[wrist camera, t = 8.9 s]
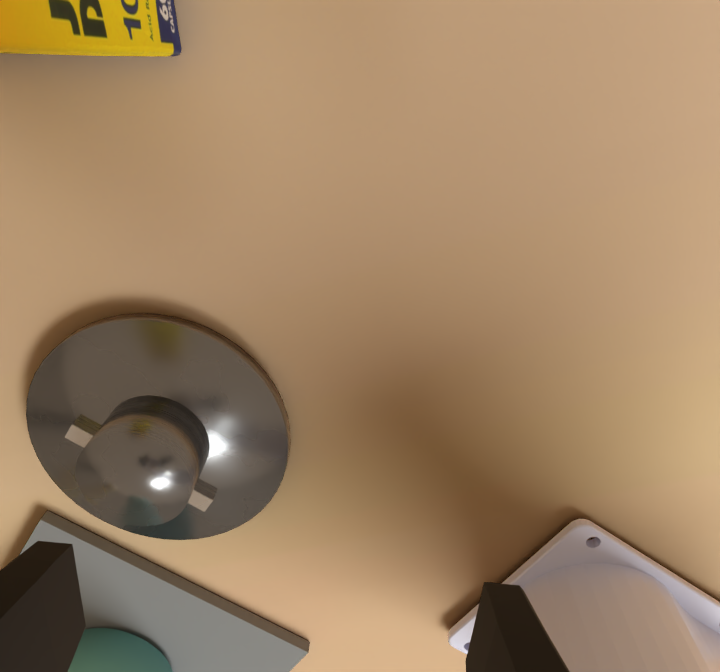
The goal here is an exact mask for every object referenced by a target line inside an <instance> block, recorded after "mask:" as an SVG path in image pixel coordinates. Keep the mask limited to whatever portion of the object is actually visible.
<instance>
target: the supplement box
mask: <svg viewBox="0 0 720 672" xmlns="http://www.w3.org/2000/svg"><path fill="white" fill-rule="evenodd" d="M0 53H16V54H55V55H89V56H177V55H179V54H180V53H181V43H180V37H179V32H178V26H177V19H176V12H175V6H174V0H0Z"/></svg>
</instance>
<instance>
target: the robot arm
mask: <svg viewBox="0 0 720 672" xmlns="http://www.w3.org/2000/svg"><path fill="white" fill-rule="evenodd" d="M591 537H595V538H594V539H592V540H587V539H589V538H591ZM85 627H86V624H85V618H84V611H83V605H82V599H81V593H80V587H79V581H78V575H77V569H76V563H75V557H74V551H73V545H72V544H68V543H57V542H46V541H37V542H36V543H34V544H33V545H32V546H31V547H29V548H28V549H27V550H25V551H24V552H23V553H22V554H20V555H19V556H18V557H17V558H15V559H14V560H13V561H12V562H10V563H9V564H8V565H7V566H5V567H4V568H3V569H2V570H1V571H0V672H68V669H69V667H70V665H71V662H72V660H73V657H74V655H75V652H76V650H77V647H78V645H79V642H80V640H81V637H82V634H83V632H84V629H85ZM448 642H449V644H450V645H451V646H452V647H454V648H456V649H458V650H460V651H461V652H463V653H465V654H467V657H466V672H720V602H719V601H717V600H715V599H714V598H712V597H711V596H709V595H707V594H706V593H704V592H703V591H701V590H699V589H698V588H696V587H695V586H693V585H692V584H690V583H688V582H687V581H685V580H684V579H682V578H680V577H679V576H677V575H676V574H674V573H672V572H671V571H669V570H668V569H666V568H664V567H663V566H661V565H660V564H658V563H656V562H655V561H653V560H652V559H650V558H648V557H647V556H645V555H644V554H642V553H641V552H639V551H637V550H636V549H634V548H633V547H631V546H629V545H628V544H626V543H625V542H623V541H621V540H620V539H618V538H617V537H615V536H613V535H612V534H610V533H609V532H607V531H605V530H604V529H602V528H601V527H599V526H598V525H596V524H594V523H593V522H591V521H589V520H587V519H577V520H574V521H572V522H571V523H569V524H568V525H567V526H566V527H565V528H564V529H563V530H561V531H560V532H559V533H558V534H557V535H556V536H555V537H554V538H552V539H551V540H550V541H549V542H548V543H547V544H546V545H544V546H543V547H542V548H541V549H540V550H539V551H538V552H537V553H535V554H534V555H533V556H532V557H531V558H530V559H529V560H527V561H526V562H525V563H524V564H523V565H522V566H521V567H520V568H518V569H517V570H516V571H515V572H514V573H513V574H512V575H511V576H509V577H508V578H507V579H506V580H505V581H504V582H503V583H501V584H500V583H489V582H484V585H483V590H482V594H481V598H480V602H479V604H478V605H477V606H475V607H474V608H473V609H472V610H471V611H470V612H469V613H468V614H466V615H465V616H464V617H463V618H462V619H461V620H460V621H458V622H457V623H456V624H455V625H454V626H453V627H452V628H451V629H450V630H449V631H448Z"/></svg>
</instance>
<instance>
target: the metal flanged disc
mask: <svg viewBox="0 0 720 672" xmlns="http://www.w3.org/2000/svg"><path fill="white" fill-rule="evenodd" d="M26 416H27V426H28V431H29V435H30V439H31V443H32V445H33V447H34V450H35V452H36V455H37V457H38V459H39V460H40V462H41V464H42V466H43V467H44V469H45V470H46V472H47V473H48V475H49V476H50V477H51V479H52V480H53V481H54V482H55V484H56V485H57V486H58V487H59V488H60V489H61V490H62V491H63V492H64V493H65V494H66V495H67V496H68V497H69V498H71V499H72V500H73V501H74V502H75V503H76V504H78V505H79V506H80V507H82V508H83V509H85V510H86V511H87V512H89V513H90V514H92V515H94V516H96V517H97V518H99V519H101V520H103V521H104V522H107V523H109V524H111V525H113V526H116V527H118V528H120V529H123V530H126V531H129V532H132V533H135V534H139V535H144V536H148V537H153V538H160V539H173V540H187V539H199V538H205V537H211V536H214V535H218V534H221V533H225V532H227V531H229V530H232V529H234V528H236V527H238V526H240V525H242V524H244V523H245V522H247V521H249V520H250V519H251V518H253V517H254V516H255V515H257V514H258V513H259V512H260V511H261V510H262V509H263V508H264V507H265V506H266V505H267V504H268V503H269V502H270V500H271V499H272V497H273V496H274V494H275V493H276V492H277V490H278V488H279V485H280V483H281V481H282V479H283V476H284V472H285V469H286V465H287V461H288V457H289V450H290V426H289V421H288V416H287V412H286V410H285V407H284V404H283V401H282V399H281V397H280V395H279V393H278V391H277V389H276V387H275V385H274V384H273V382H272V381H271V379H270V378H269V377H268V375H267V374H266V372H265V371H264V370H263V369H262V368H261V367H260V366H259V364H258V363H257V362H256V361H255V360H254V359H253V358H252V357H251V356H250V355H248V354H247V353H246V352H245V351H244V350H243V349H242V348H240V347H239V346H237V345H236V344H235V343H233V342H232V341H230V340H229V339H227V338H226V337H224V336H222V335H220V334H218V333H217V332H215V331H213V330H211V329H209V328H207V327H204V326H202V325H199V324H197V323H194V322H191V321H188V320H184V319H180V318H177V317H172V316H166V315H159V314H141V313H136V314H125V315H118V316H113V317H109V318H104V319H101V320H99V321H96V322H93V323H91V324H88V325H86V326H85V327H83V328H81V329H79V330H77V331H76V332H74V333H73V334H71V335H70V336H69V337H68V338H66V339H65V340H64V341H63V342H61V343H60V344H59V345H58V346H57V347H56V348H55V349H53V351H52V352H51V353H50V354H49V355H48V356H47V357H46V358H45V359H44V360H43V362H42V363H41V365H40V367H39V368H38V370H37V371H36V373H35V375H34V378H33V380H32V383H31V385H30V389H29V393H28V398H27V409H26Z"/></svg>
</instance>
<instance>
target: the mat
mask: <svg viewBox="0 0 720 672" xmlns="http://www.w3.org/2000/svg"><path fill="white" fill-rule="evenodd" d="M37 541H46V542H57V543H68V544H72V545H73V551H74V557H75V563H76V569H77V575H78V581H79V587H80V593H81V599H82V605H83V611H84V618H85V624H86V627H85V629H90V628H109V629H116V630H120V631H124V632H127V633H130V634H133V635H135V636H137V637H139V638H142V639H143V640H145V641H147V642H148V643H150V644H151V645H153V646H154V647H155V648H156V649H158V650H159V651H160V652H161V653H162V654H163V655H164V656H165V658H166V659H167V661H168V662H169V664H170V666H171V668H172V671H173V672H289V671H290V670H291V669H292V668H293V667H294V666H295V665H296V664H297V663H298V662H299V661H300V660H301V659H302V658H303V657H304V656H305V655H306V654H307V653H308V651H309V644H310V642H309V641H307V640H305V639H303V638H301V637H299V636H297V635H295V634H293V633H291V632H289V631H287V630H285V629H283V628H281V627H279V626H277V625H275V624H273V623H271V622H269V621H267V620H265V619H263V618H261V617H259V616H257V615H255V614H253V613H251V612H249V611H247V610H245V609H243V608H241V607H239V606H237V605H235V604H233V603H231V602H229V601H227V600H225V599H223V598H221V597H219V596H217V595H215V594H213V593H211V592H209V591H207V590H205V589H203V588H201V587H199V586H197V585H195V584H193V583H191V582H189V581H187V580H185V579H183V578H181V577H179V576H177V575H175V574H173V573H171V572H169V571H167V570H165V569H163V568H161V567H159V566H157V565H155V564H153V563H151V562H149V561H147V560H145V559H143V558H141V557H139V556H137V555H135V554H133V553H131V552H129V551H127V550H125V549H123V548H121V547H119V546H117V545H115V544H113V543H111V542H109V541H107V540H105V539H103V538H101V537H99V536H97V535H95V534H93V533H91V532H89V531H87V530H85V529H83V528H81V527H79V526H77V525H75V524H73V523H71V522H70V521H68V520H66V519H64V518H62V517H60V516H58V515H56V514H54V513H52V512H50V511H48V510H47V511H46V513H45V514H44V515H43V517H42V518H41V520H40V521H39V523H38V525H37V526H36V528H35V530H34V531H33V533H32V535H31V536H30V538H29V540H28V541H27V543H26V545H25V546H24V548H23V550H22V551H21V553H20V554H22V553H23V552H24V551H25V550H27V549H28V548H29V547H31V546H32V545H33V544H34V543H36V542H37ZM85 629H84V630H85Z"/></svg>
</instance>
